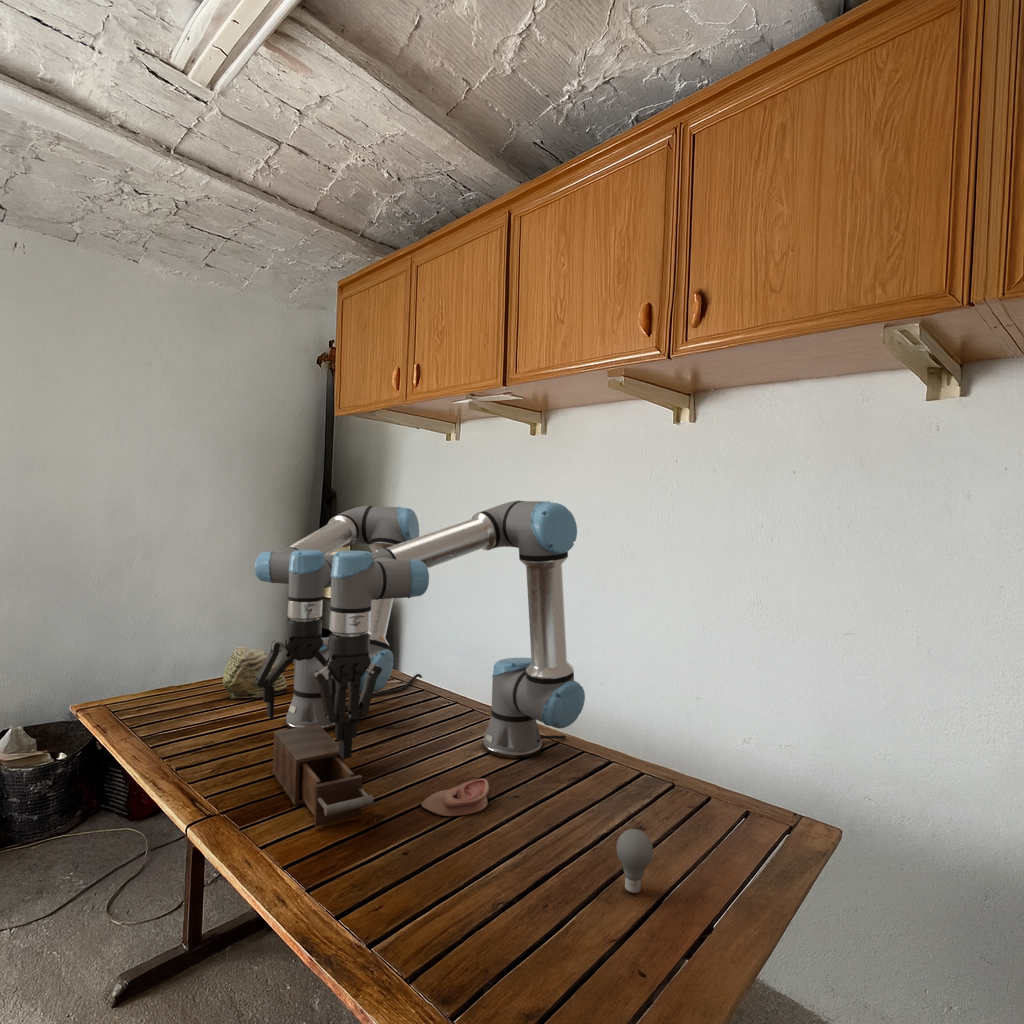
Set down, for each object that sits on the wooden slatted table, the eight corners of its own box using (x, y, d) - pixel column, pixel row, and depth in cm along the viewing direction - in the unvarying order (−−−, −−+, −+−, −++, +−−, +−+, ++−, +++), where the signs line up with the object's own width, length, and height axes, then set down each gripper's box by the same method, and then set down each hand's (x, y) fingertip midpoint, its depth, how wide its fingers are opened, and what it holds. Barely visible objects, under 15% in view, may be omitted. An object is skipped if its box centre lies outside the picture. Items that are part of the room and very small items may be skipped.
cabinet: (343, 794, 135) (344, 750, 135) (294, 805, 129) (296, 759, 129) (317, 763, 150) (318, 724, 150) (272, 772, 144) (274, 731, 144)
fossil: (218, 695, 195) (220, 647, 195) (278, 685, 208) (279, 640, 207) (228, 703, 189) (230, 653, 188) (289, 692, 201) (290, 645, 201)
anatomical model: (416, 792, 129) (434, 769, 140) (415, 812, 129) (434, 787, 140) (479, 801, 126) (493, 777, 137) (479, 821, 126) (492, 795, 137)
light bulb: (610, 879, 108) (613, 822, 108) (644, 879, 109) (647, 822, 109) (619, 902, 102) (622, 840, 102) (655, 901, 103) (658, 840, 103)
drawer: (372, 828, 120) (374, 788, 120) (325, 841, 115) (327, 799, 115) (333, 782, 139) (334, 747, 139) (291, 791, 134) (292, 755, 134)
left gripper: (250, 625, 133) (246, 725, 134) (363, 617, 148) (360, 707, 148) (242, 619, 140) (239, 714, 140) (352, 612, 154) (348, 698, 154)
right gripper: (321, 639, 113) (316, 770, 114) (389, 633, 121) (384, 756, 121) (309, 631, 120) (304, 755, 120) (374, 626, 127) (370, 742, 127)
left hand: (301, 711), depth 144 cm, fingers open, 13 cm apart
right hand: (344, 755), depth 121 cm, fingers closed
